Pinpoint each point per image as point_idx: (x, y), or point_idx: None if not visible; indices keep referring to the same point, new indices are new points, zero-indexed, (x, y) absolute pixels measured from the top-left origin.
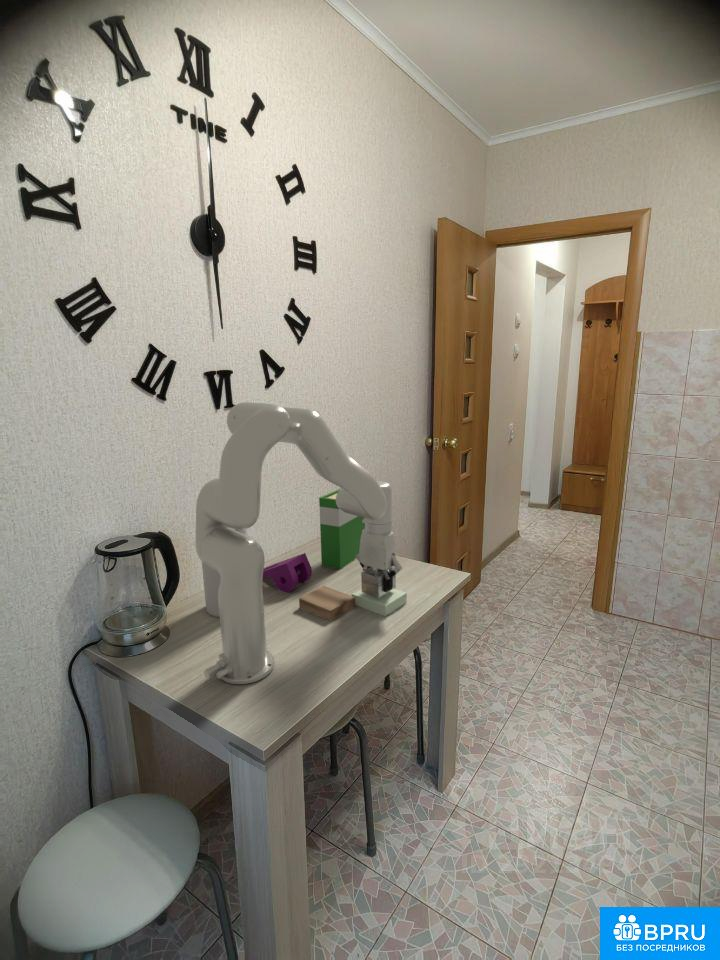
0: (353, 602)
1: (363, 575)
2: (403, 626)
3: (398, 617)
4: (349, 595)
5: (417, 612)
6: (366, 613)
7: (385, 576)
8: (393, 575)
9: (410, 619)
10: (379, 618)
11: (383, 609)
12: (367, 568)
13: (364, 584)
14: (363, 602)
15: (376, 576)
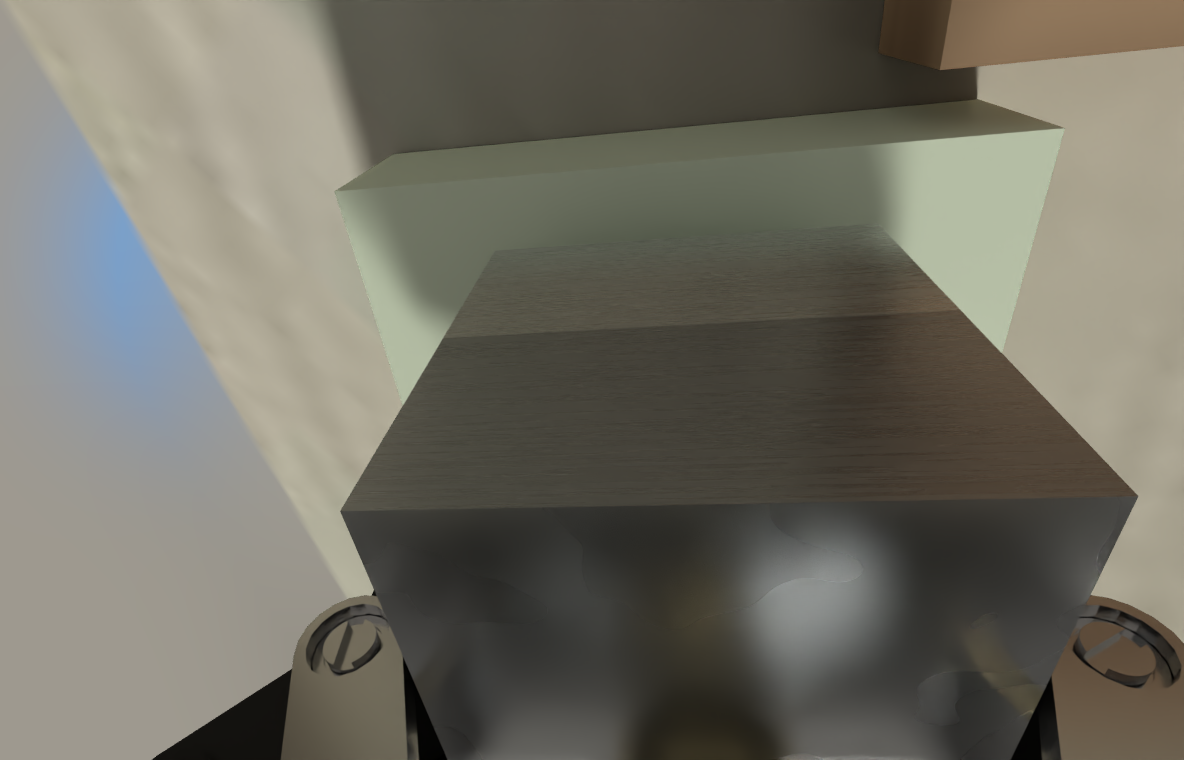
0: (912, 20)
1: (973, 429)
2: (87, 118)
3: (292, 238)
4: (1075, 47)
5: (277, 424)
6: (620, 30)
7: (394, 649)
8: (197, 735)
9: (192, 287)
10: (400, 55)
11: (396, 172)
12: (1044, 726)
13: (850, 299)
14: (763, 135)
15: (443, 527)
